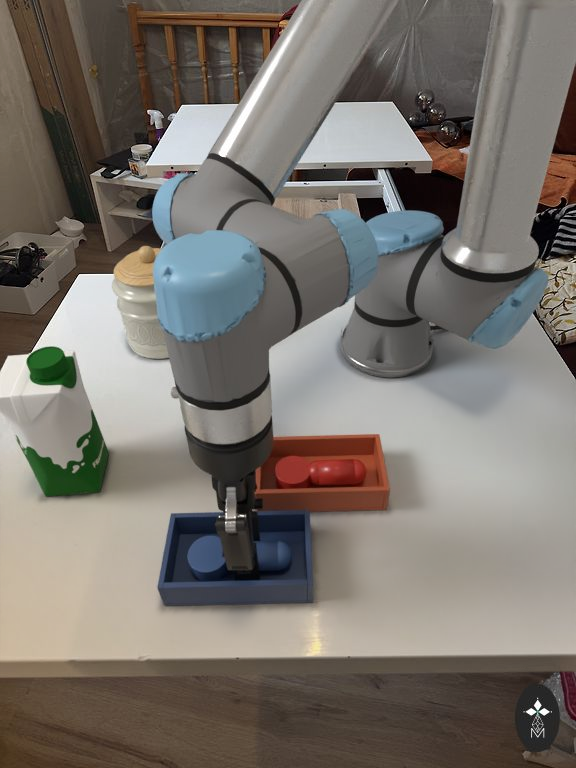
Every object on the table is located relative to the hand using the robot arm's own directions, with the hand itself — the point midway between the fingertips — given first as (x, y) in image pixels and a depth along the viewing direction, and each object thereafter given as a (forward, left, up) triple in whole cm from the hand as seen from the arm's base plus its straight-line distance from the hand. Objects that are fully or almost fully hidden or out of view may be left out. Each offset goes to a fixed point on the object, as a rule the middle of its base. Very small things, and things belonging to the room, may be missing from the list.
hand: (248, 562), depth 61 cm
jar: (-5, -48, -1) cm, 48 cm away
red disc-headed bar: (-13, -7, 0) cm, 14 cm away
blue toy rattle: (+1, -1, 0) cm, 1 cm away
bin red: (-13, -7, -1) cm, 15 cm away
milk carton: (+15, -24, -1) cm, 28 cm away
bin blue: (+1, -1, -1) cm, 1 cm away
